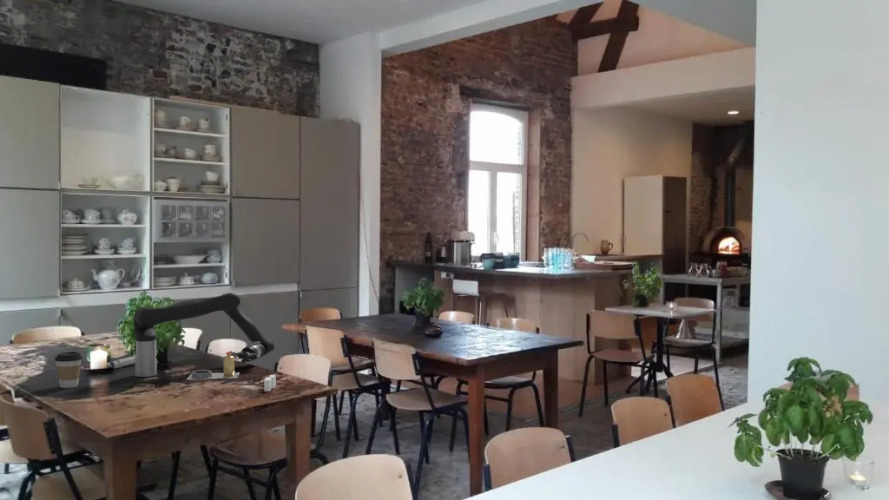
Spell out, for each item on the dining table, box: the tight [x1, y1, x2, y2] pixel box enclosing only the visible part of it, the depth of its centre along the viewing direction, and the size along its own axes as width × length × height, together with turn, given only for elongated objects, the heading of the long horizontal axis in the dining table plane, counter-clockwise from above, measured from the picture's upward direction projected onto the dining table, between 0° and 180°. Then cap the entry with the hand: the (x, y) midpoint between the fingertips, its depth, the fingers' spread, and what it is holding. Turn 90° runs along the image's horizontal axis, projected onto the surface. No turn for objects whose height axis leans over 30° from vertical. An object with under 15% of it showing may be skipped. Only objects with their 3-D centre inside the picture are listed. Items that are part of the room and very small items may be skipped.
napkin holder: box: [263, 374, 277, 392], centre depth 329 cm, size 15×11×6 cm
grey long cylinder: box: [109, 355, 135, 370], centre depth 380 cm, size 5×7×25 cm
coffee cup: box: [54, 351, 83, 389], centre depth 329 cm, size 11×11×15 cm
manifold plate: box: [186, 369, 241, 380], centre depth 347 cm, size 23×13×4 cm, turn 100°
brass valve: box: [223, 350, 236, 376], centre depth 348 cm, size 5×5×11 cm
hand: (236, 358), depth 356 cm, fingers open, 8 cm apart
